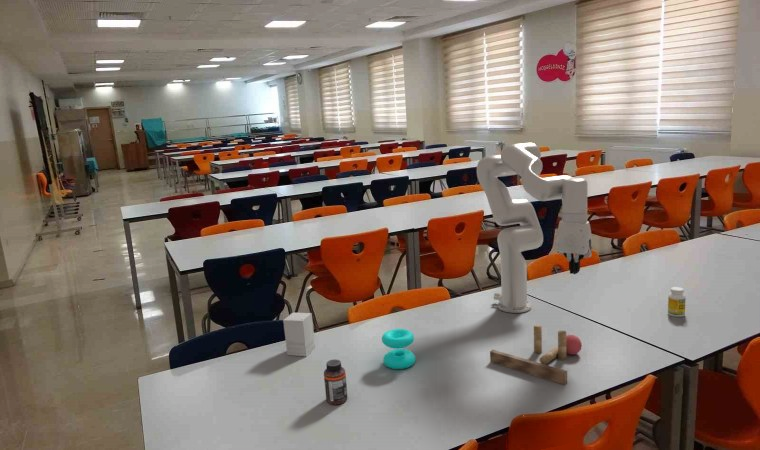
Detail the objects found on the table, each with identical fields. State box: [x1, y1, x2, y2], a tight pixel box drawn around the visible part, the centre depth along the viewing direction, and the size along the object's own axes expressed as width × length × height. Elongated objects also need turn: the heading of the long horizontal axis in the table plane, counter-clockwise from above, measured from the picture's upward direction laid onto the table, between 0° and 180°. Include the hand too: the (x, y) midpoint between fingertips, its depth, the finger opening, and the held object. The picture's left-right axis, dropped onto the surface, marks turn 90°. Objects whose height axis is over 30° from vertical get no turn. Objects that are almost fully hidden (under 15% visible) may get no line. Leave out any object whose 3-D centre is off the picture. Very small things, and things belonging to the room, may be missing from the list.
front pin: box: [539, 346, 558, 365], centre depth 166 cm, size 2×2×8 cm
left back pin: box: [533, 324, 543, 354], centre depth 172 cm, size 2×2×8 cm
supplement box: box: [282, 312, 316, 357], centre depth 183 cm, size 7×7×13 cm
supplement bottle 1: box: [323, 358, 348, 406], centre depth 150 cm, size 6×6×11 cm
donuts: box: [381, 328, 416, 370], centre depth 170 cm, size 10×10×10 cm
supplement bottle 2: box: [667, 286, 686, 318], centre depth 193 cm, size 5×5×10 cm
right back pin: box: [557, 330, 567, 361], centre depth 166 cm, size 2×2×8 cm
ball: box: [566, 334, 583, 356], centre depth 169 cm, size 6×6×6 cm
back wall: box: [489, 349, 568, 385], centre depth 160 cm, size 24×2×4 cm, turn 46°
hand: (574, 272), depth 177 cm, fingers closed
